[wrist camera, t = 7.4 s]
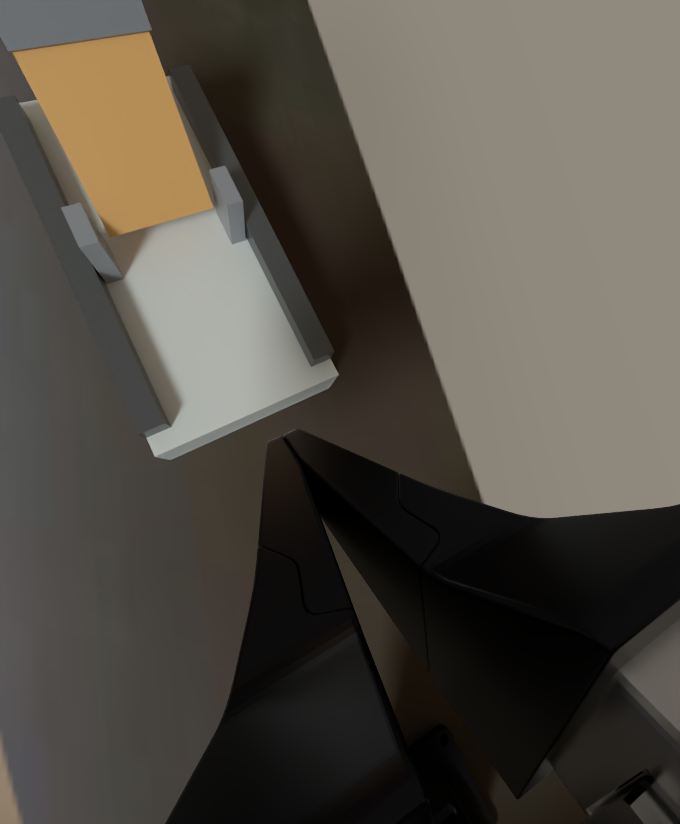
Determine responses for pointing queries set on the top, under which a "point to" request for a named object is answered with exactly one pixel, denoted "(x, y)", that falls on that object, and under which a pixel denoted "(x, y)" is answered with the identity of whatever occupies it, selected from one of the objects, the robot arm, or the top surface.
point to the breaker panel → (181, 288)
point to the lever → (108, 106)
